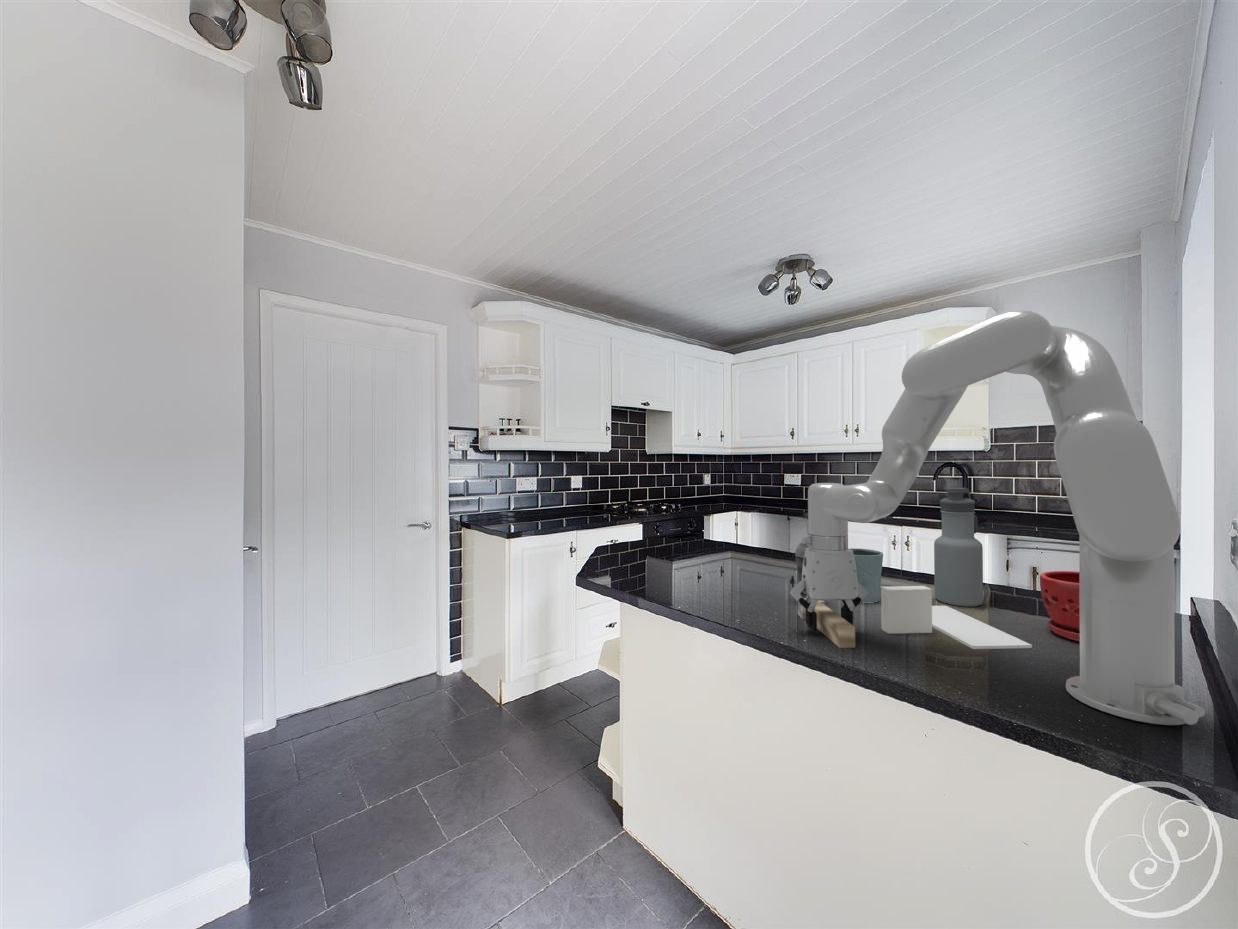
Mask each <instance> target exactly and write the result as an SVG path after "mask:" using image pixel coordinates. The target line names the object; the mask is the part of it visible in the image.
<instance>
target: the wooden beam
mask: <svg viewBox="0 0 1238 929" xmlns="http://www.w3.org/2000/svg"><path fill="white" fill-rule="evenodd" d="M804 599H806V598H804ZM814 611H815V612H816V613H817V630H818V631H820V632H821V633H822V634H823V636H825V637H826V638H828V639H829V640H830V641H831V642H832V643H833V644H834V645H836V646H837V647H838V648H839V649H840V648H841V649H849V648H851V649H852V648H854V649H855V648H856V626H855V625H852V624H850V623H849V622H848V621H846V620H845V619H843V618H842V617H841V615H840V614H838V613H836V612H835V611H834V610H833V609H831V608H829V607H828V606H827V605H826V600H818V602H817V604H816V607H815V609H814ZM798 615H799V616H800V617H799V616H798ZM797 616H798V617H799V618H800V619H801V620H803V619H806V609H805V608H804V607H803V606H802V605H801V604H800V603H799V602H798V601H797Z"/></svg>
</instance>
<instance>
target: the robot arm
mask: <svg viewBox="0 0 1238 929" xmlns="http://www.w3.org/2000/svg"><path fill="white" fill-rule="evenodd" d="M1003 373H1009V374H1013V375H1017V374H1018V375H1027V376H1030V377H1032V378H1034V379H1035V380H1037V381H1038V382H1039V384H1040V386H1041V387H1042V391H1043V394H1044V397H1045V400H1046V404H1047V406H1048V408H1049V411H1050V415H1051V417H1052V421H1053V425H1054V430H1055V434H1056V435H1055V437H1054V440H1053V454H1054V458H1055V460H1056V464H1057V468H1058V471H1059V474H1060V477H1061V480H1062V484H1063V487H1064V490H1065V493H1066V496H1067V501H1068V504H1069V507H1070V510H1071V514H1072V516H1073V520H1074V524H1075V526H1076V530H1077V532H1078V534H1079V540H1078V542H1079V555H1078V556H1079V557H1078V558H1079V561H1078V562H1079V565H1078V568H1079V570H1078V572H1079V574H1080V576H1079V580H1080V590H1079V605H1080V642H1079V675H1075V676H1072V677H1068V679H1066V682H1065V688H1066V691H1067V692H1068V694H1069V695H1071V697H1073V698H1074V699H1076V700H1078V701H1079V702H1080V703H1083V704H1085V705H1087V706H1089V707H1091V708H1094V709H1096V710H1099V711H1100V712H1104V713H1107V714H1110V715H1114V716H1116V717H1120V718H1123V719H1128V720H1132V721H1136V722H1141V723H1145V724H1146V723H1147V724H1152V725H1161V726H1180V725H1181V726H1182V725H1186V724H1187V725H1190V726H1193V725H1196V724H1197V723H1198V721H1199V718H1203V717H1204V716H1205V715H1206V710H1205V708H1204V707H1202V706H1200V705H1199V704H1198V705H1197V704H1195V703H1194V702H1191V701H1188V700H1185V698H1184V697H1185V696H1184V694H1185V693H1184V692H1185V689H1184V686H1181V685H1178V684H1176V681H1175V679H1176V678H1175V677H1176V676H1175V675H1176V674H1175V668H1176V667H1175V658H1176V656H1175V654H1176V653H1175V646H1176V645H1175V638H1176V637H1175V636H1176V635H1175V604H1176V603H1175V601H1176V598H1175V596H1176V595H1175V594H1176V593H1175V592H1176V586H1175V583H1176V580H1175V579H1176V578H1175V575H1176V574H1175V553H1174V552H1175V550H1174V545H1175V544H1177V542H1178V540H1179V537H1180V534H1181V521H1180V520H1181V519H1180V516H1179V514H1178V511H1177V508H1176V504H1175V501H1174V497H1173V495H1172V491H1171V489H1170V486H1169V482H1168V480H1167V476H1166V473H1165V471H1164V467H1163V465H1162V462H1161V461H1162V460H1161V459H1160V456H1159V452H1158V450H1157V446H1156V444H1155V442H1154V440H1153V436H1152V435H1151V433H1150V431H1149V430H1148V428H1147V427H1146V426H1145V425H1144V423H1143V422H1141V421H1140V420H1138V418H1137V417H1136V415H1135V412H1134V409H1133V406H1132V404H1131V400H1130V397H1129V394H1128V392H1127V390H1126V387H1125V386H1124V383H1123V380H1122V378H1121V375H1120V372H1119V369H1118V367H1117V365H1116V363H1115V361H1114V359H1113V358H1112V356H1111V354H1110V352H1109V351H1108V349H1106V347H1105V346H1103V345H1102V344H1101V342H1100V341H1097V340H1096V339H1095V338H1093V337H1091V336H1090V335H1088V334H1086V333H1084V332H1081V331H1078V330H1076V329H1074V328H1069V327H1065V326H1057V325H1051V323H1050V322H1049V321H1048V319H1046V318H1045V317H1044V316H1042V315H1041V314H1039V313H1038V312H1034V311H1031V310H1012V311H1008V312H1004V313H1001V314H998V315H995V316H992V317H991V318H988V319H985V320H984V321H982V322H980V323H977V324H975V325H972V326H971V327H968V328H966V329H964V330H962V331H959V332H958V333H955V334H953V335H951V336H948V337H945V338H944V339H942V340H939V341H938V342H935V343H933V344H931V345H928V346H926V347H924V348H922V349H920V350H919V351H917V352H916V353H915V354H913V355H912V356H911V357H910V358H908V360H907V361H906V362H905V364H904V366H903V368H902V372H901V382H902V385H903V387H904V390H903V391H902V393H901V395H900V397H899V399H898V400H897V402H896V404H895V405H894V407H893V409H892V411H891V412H890V414H889V416H888V418H887V419H886V421H885V423H884V424H883V426H882V430H881V439H882V450H881V454H880V458H879V460H878V462H877V464H876V466H875V468H874V470H873V471H872V473H871V475H869V478H868V480H867V481H866V482H864V483H863V482H862V483H856V484H849V485H848V484H847V485H844V484H842V483H839V482H837V483H835V482H817V483H812V484H811V485H809V487H808V489H807V517H808V518H807V520H808V522H807V523H808V531H809V534H808V536H806V537H801V543H803V544H807V545H808V546H809V548H806V550H805V555H804V560H803V568H802V580H801V581H800V582H799V581H798V583H797V584H796V585H795V586H794V587H793V588H792V589H791V590H790V591H789V594H790V595H791V596H792V597H793V598H794V599H795V600H796V601H797V603H798V602H799V603H800V604H801V605H802V606H803V607H804V608H805V609H806V620H805V623H806V624H805V625H806V626H807V627H808V628H809V629H810V630H811V631H812V632H817V631H818V629H817V613H816V612H815V611H814V609H815V607H816V604H817V602H818V600H823V601H841V602H842V606H841V607H840V616H841V617H842V618H843V619H845V620H846V621H848V622H849V623H850V624H852V625H853V624H854V613H853V612H855V611H856V608H857V606H858V605H860V604H861V603H860V602H861V600H862V599H863V598H864V597H865V596H866V595H867V594H868V591H867V590H866V589H865V588H864V587H863V586H862V585H860V584H859V583H858V579H857V570H856V564H855V559H854V554H853V551H852V550H850V549H851V548H849V522H854V523H861V524H865V523H871V522H875V521H878V520H880V519H883V518H886V517H889V516H890V515H891V514H892V513H894V512H895V511H896V510H897V508H898V507H899V506H900V504H901V503H902V502H903V500H904V498H905V497H906V495H907V493H908V491H909V490H910V488H911V487H912V485H913V484H914V482H915V480H916V479H917V477H918V474H919V472H920V470H921V468H922V465H923V464H924V462H925V460H926V458H927V456H928V453H929V450H930V448H931V446H932V445H933V443H934V442H935V441H936V438H937V437H938V435H939V433H940V432H941V430H942V429H943V427H944V425H945V424H946V422H947V421H948V420H949V418H950V416H951V414H952V413H953V412H954V410H955V408H956V406H957V405H958V403H959V402H960V400H961V398H962V397H963V395H964V393H965V392H966V390H967V389H968V386H970V385H973V384H976V383H978V382H982V381H984V380H988V379H990V378H992V377H995V376H997V375H1000V374H1003ZM802 591H803V593H805V594H807V597H806V599H804V598H803V597H802V596H801V595H800V593H801V592H802ZM853 626H854V625H853Z"/></svg>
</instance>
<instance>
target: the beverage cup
mask: <svg viewBox="0 0 1238 929" xmlns="http://www.w3.org/2000/svg"><path fill="white" fill-rule="evenodd" d="M806 532H807V533H806V535H807V536H808V534H809V531H808V522H807V523H806ZM807 536H806V537H807ZM806 548H809V546H808V545H807V544H803V543H802V542H800V543H799V544H798V545H797V547H796V549H795V551H794V552H795V553H794V557H795V563H796V567H797V568H796V569H797V578H798V583H799V582H800V581H801V580H802V568H803V560H804V555H805V550H806ZM800 595H801V596H802V597H803V598H806V597H807V594H805V593H803V591H802V592H801V593H800Z"/></svg>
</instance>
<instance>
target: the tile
mask: <svg viewBox="0 0 1238 929" xmlns="http://www.w3.org/2000/svg"><path fill="white" fill-rule="evenodd" d="M880 587H881V597H880V602H881V603H880V604H881V605H880V609H881V611H880V613H881V614H880V616H881V630H882V631H884V632H885V633H887V634H889V635H890V634H926V633H927V634H932V633H933V627H932V606H933V603H932V601H933V594H932V593H933V592H932V591H933V589H932V588H930V587H927V586H925V585H909V586H908V585H902V586H880Z"/></svg>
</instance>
